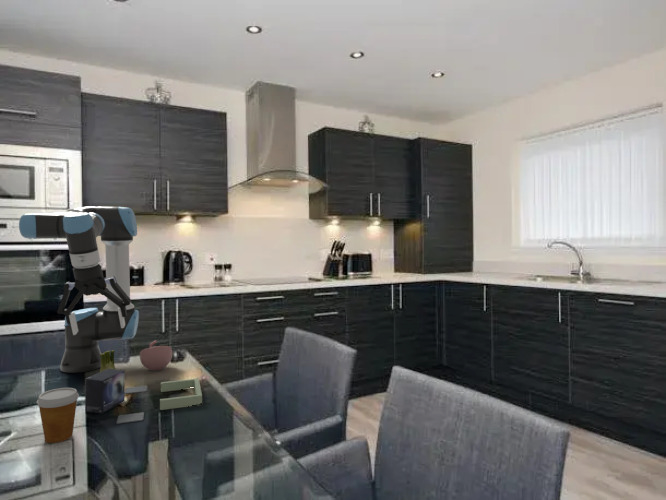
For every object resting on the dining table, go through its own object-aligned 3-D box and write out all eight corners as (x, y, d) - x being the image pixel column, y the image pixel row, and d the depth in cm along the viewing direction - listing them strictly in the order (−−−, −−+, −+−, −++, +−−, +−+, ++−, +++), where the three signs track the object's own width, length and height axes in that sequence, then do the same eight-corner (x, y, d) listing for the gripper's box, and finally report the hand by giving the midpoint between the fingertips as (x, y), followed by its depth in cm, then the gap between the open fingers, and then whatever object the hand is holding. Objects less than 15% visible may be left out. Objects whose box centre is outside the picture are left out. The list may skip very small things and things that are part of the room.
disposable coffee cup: (87, 432, 120) (87, 389, 120) (55, 449, 111) (54, 402, 111) (61, 427, 123) (61, 385, 123) (28, 442, 114) (27, 397, 114)
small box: (103, 414, 133) (102, 380, 132) (84, 412, 134) (83, 378, 133) (126, 401, 143) (125, 369, 142) (108, 399, 144) (108, 367, 144)
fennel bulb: (113, 380, 162) (113, 348, 161) (118, 384, 158) (118, 351, 158) (96, 384, 158) (96, 351, 157) (101, 388, 154) (100, 354, 154)
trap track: (125, 388, 154) (125, 380, 154) (197, 380, 162) (197, 372, 162) (116, 424, 126) (116, 413, 126) (203, 412, 134) (203, 402, 134)
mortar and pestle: (169, 363, 183) (168, 336, 183) (175, 371, 173) (175, 342, 173) (137, 368, 177) (137, 339, 176) (142, 376, 167) (142, 346, 166)
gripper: (35, 273, 125) (51, 341, 131) (129, 263, 131) (140, 328, 137) (44, 266, 132) (59, 330, 138) (133, 256, 138) (144, 319, 144)
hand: (99, 329), depth 137 cm, fingers open, 13 cm apart
